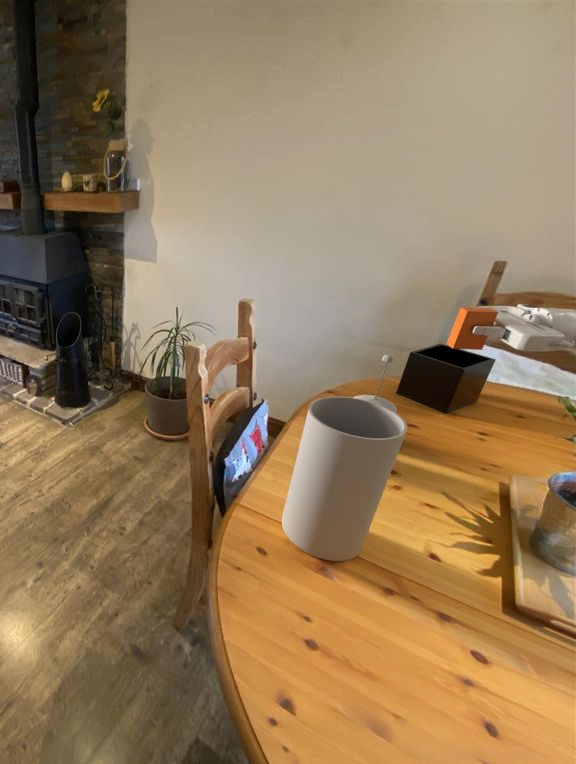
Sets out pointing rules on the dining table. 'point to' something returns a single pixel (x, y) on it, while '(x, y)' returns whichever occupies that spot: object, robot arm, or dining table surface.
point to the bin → (444, 377)
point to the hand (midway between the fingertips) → (467, 326)
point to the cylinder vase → (340, 475)
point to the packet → (463, 324)
